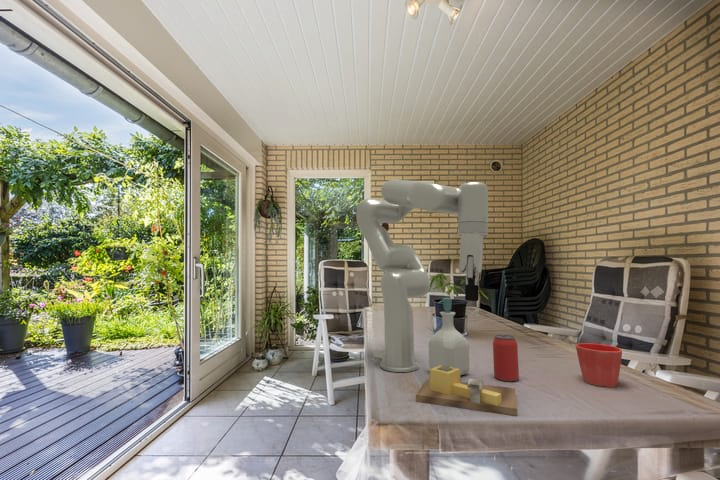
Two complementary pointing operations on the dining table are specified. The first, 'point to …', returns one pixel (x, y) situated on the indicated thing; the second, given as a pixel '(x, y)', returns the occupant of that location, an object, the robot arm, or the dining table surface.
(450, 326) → the soap bottle
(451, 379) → the link
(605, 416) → the dining table surface
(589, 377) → the flower pot
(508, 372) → the beer can
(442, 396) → the bracket base
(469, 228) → the robot arm
